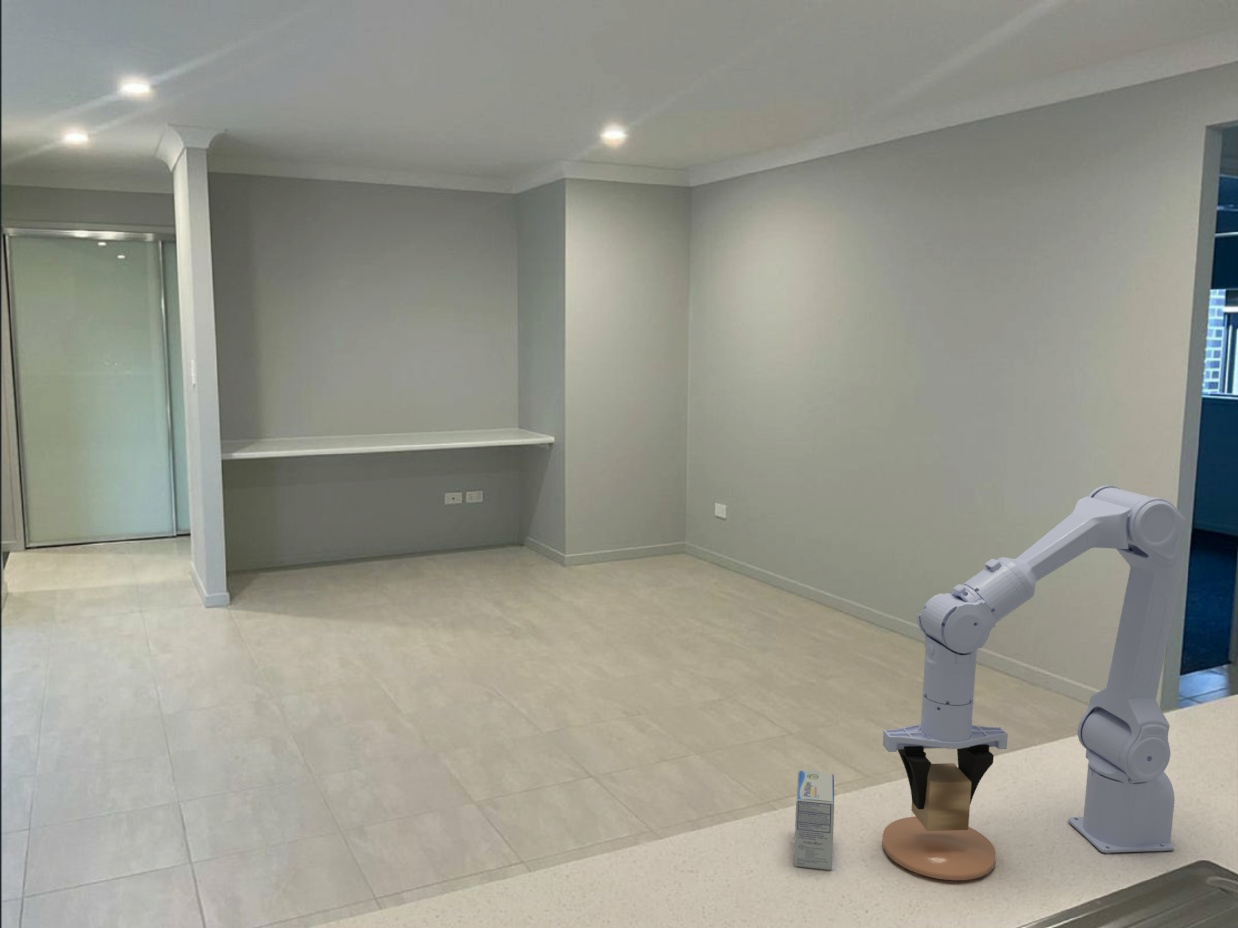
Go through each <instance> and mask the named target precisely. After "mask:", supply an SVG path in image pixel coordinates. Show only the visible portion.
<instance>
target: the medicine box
mask: <svg viewBox="0 0 1238 928" xmlns="http://www.w3.org/2000/svg"><path fill="white" fill-rule="evenodd" d="M834 778H835V776H834V773H830V772H824V771H814V770H798V775H797V788H796V800H795V801H796V803H795V821H794V822H795V823H794V826H795V827H794V828H795V829H794V832H795V833H794V866H795V867H799V868H808V869H815V870H816V869H817V870H824V871H825V870H826V871H831V870H833V852H834V851H833V848H834V821H835V781H834V780H835V779H834Z"/></svg>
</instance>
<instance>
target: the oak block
mask: <svg viewBox="0 0 1238 928" xmlns="http://www.w3.org/2000/svg"><path fill="white" fill-rule="evenodd" d="M970 796H971V781H970V780H969V779H968V778H967V777H966V776H965V775H964V774H963V772H962V771H961V770H960V769H959V768H958V765H956V763H953V762H951V763H950V762H949V763H948V762H947V763H931V766H930V769H929V773H928V777H927V783H926V798H925V806H924V809H917V807H916V806H915V805H914V804H913V802H912V801H911V808H910V809H911V812H912V813H913V814H914V817H917V818H918V820H919V821H920V822H921V824H922V825H923V826H924V828H925V829H926V830H927V831H949V830H968V827H970V825H969V824H970V809H971V804H970Z"/></svg>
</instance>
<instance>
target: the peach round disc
mask: <svg viewBox="0 0 1238 928" xmlns="http://www.w3.org/2000/svg"><path fill="white" fill-rule="evenodd" d="M881 843H882V847H883V850H884V851H885V853H886V854H887V856H888V857H889V858H890V859H891V860H893V861H894V862H895V863H896V864H898V865H900V866H901V867H903V868H905V869H906V870H909V871H911V872H914V873H916V874H918V875H922V876H925V877H929V878H933V879H937V880H938V879H939V880H945V881H969V880H974V879H978V878H982V877H983V876H986V875H987V874H989V873H990V872H991V871H992V870H993V868H994V867H995V865H996V856H997V855H996V854H997V852H996V848H995V847H994V845H993V844H992V842H991V841H990V840H989V839H988V838H987V837H986V836H985V835H984V834H982V833H981V832H980V831H978V830H975V828H972V827H970V826H968V830H949V831H927V830H926V829H925V828H924V826H923V825H922V824H921V822H920V821H919V820H918V818H917V817H916V816H909V817H908V816H907V817H903V818H899V819H896V820H894V821H892V822H891V823H889V824H888V825H886V827H885V828H884V829H883V833H882V841H881Z"/></svg>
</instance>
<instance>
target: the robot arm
mask: <svg viewBox="0 0 1238 928" xmlns="http://www.w3.org/2000/svg"><path fill="white" fill-rule="evenodd" d="M1186 521H1187V519H1186V518H1185V516H1184V515H1183V514H1182V513H1181V512H1180V511H1179V510H1178V508H1177V507H1176V506H1175V505H1174V504H1173V503H1172V502H1171V501H1169V500H1168V499H1166V498H1163V497H1159V496H1158V497H1157V496H1156V497H1155V496H1150V495H1149V496H1148V495H1144V494H1141V493H1137V492H1133V491H1129V490H1125V489H1121V488H1119V487H1117V486H1114V485H1110V484H1109V485H1101V486H1099V487H1097V488H1095V489H1093V490H1092V491H1090V493H1089V494H1088V495H1086V496H1084V497H1082V498H1080V499H1078V500H1077V501H1076V504H1075V506H1074V509H1073V511H1072V512H1071V513H1070V514H1069V515H1068V516H1067V517H1065V518H1064V519H1063V520H1062V521H1061V522H1059V523H1058V524H1057V525H1056V526H1055V527H1053V528H1052V529H1050V531H1048V532H1047V533H1046V534H1044V535H1043V536H1042V537H1041V538H1040V539H1038V540H1037V541H1036V542H1034V543H1033V544H1032V545H1031V546H1030V547H1028V548H1027V549H1026V550H1025V551H1024V552H1022V553H1021V554H1020V555H1019V556H1018V557H1016V558H1010V557H1006V556H1005V557H1004V556H1002V557H998V559H994V558H991V559H989V560H988V561H986V562H985V563H984V566H985V568H983V569H981V570H980V571H979V572H978V573H976V574H975V575H973V576H971V578H969V579H968V580H966V581H965V582H964V583H962V584H960V583H958V584H957V585H955V586H954V587H953V588H952V591H951V593H949V592H945V593H942V592H941V593H938V594H936V595H934V596H932V597H931V598H930V599H929V600H927V601H926V602H925V604H924V606H922V607H923V608H922V610H921V613H920V614H917V616H916V620H917V625H918V628H919V629H920V631H921V632H922V634H923V636H924V647H925V649H924V650H925V651H924V652H925V653H924V654H925V655H924V667H923V683H922V684H923V685H922V700H921V701H922V702H921V717H920V724H914V725H909V726H904V727H900V728H899V727H898V728H895V729H884V730H883V735H882V746H883V747H884V749H885V750H886V751H887V752H889V753H891V752H892V753H897V752H898V754H899V757H900V759H901V761H902V764H903V766H904V769H905V773H906V775H907V776H906V777H907V779H908V783H909V788H910V794H911V795H910V796H911V803H912V802H913V804H914V805H915V806H916V807H917V809H924V806H925V798H926V783H927V777H928V773H929V769H930V766H931V764H932V762H931V761H930V760H929V759H928V757H927V753H926V751H925V749H927V750H928V749H929V750H930V749H949V750H956V752H957V767H958V768H959V769H960V770H961V771H962V772H963V774H964V775H965V776H966V777H967V778H968V779H969V780H970V781H971V796H970V805H972V804H971V803H972V801H973V798H974V795H975V792H976V791H977V788H978V786H979V783H980V782H981V780H982V779H983V777H984V776H985V774H986V773H987V771H988V770H989V769H990V767H991V766H992V765H993V763H994V757H995V756H994V754H993V753H992V752H991V751H990V748H996V749H997V750H1007V749H1008V736H1009V734H1008V733H1007V732H1006V731H1005V730H1004V729H1003V728H1002V727H1000V726H999V727H997V726H996V727H995V726H994V727H992V726H983V725H982V726H981V725H972V724H973V713H974V711H973V709H974V696H975V695H974V694H975V683H976V682H975V681H976V671H977V670H976V669H977V653H978V649H982V648H983V647H984V645H985V644H986V643H987V641H988V639H989V637H990V634H991V631H992V630H993V629H994V628H995V627H996V625H997V624H998V622H1000V621H1001V620H1002V619H1004V618H1005V617H1007V616H1009V615H1010V614H1011V613H1013V611H1016V609H1019V607H1021V606H1022V605H1024V604H1025V603H1026V602H1028V601H1029V600H1031V599H1032V598H1033V597H1034V595H1035V591H1036V585H1037V584H1036V583H1037V582H1038V581H1040V580H1042V579H1043V578H1045V577H1047V576H1048V575H1051V573H1053V572H1054V571H1056V570H1058V569H1059V568H1061V567H1063V566H1065V565H1066V564H1068V563H1069V562H1071V561H1073V560H1074V559H1076V558H1077V557H1079V556H1080V555H1082V554H1084V553H1086V552H1087V551H1089V550H1091V549H1093V548H1094V549H1095V548H1100V549H1116V551H1117V552H1118V553H1119V554H1120V555H1121V557H1122V558H1123V559H1124V560H1125V561H1126V562H1127V564H1128V565H1129V572H1128V573H1129V574H1128V578H1127V579H1128V580H1127V583H1126V588H1125V593H1124V597H1123V603H1122V604H1123V605H1122V609H1121V615H1120V619H1119V624H1118V627H1117V628H1118V629H1117V634H1116V639H1115V642H1114V643H1115V644H1114V648H1113V653H1112V658H1111V663H1110V669H1109V672H1108V673H1109V674H1108V678H1107V682H1106V683H1107V684H1106V687H1105V688H1104V689H1102V690H1099V691H1097V692H1095V693H1094V694H1092V695H1091V696H1089V697H1090V699H1089V703H1088V706H1087V709H1086V711H1084V714H1082V716H1081V718H1080V720H1079V721H1078V725H1077V733H1076V734H1077V737H1078V740H1079V743H1080V745H1081V746H1082V747H1084V749H1086V750H1085V758H1086V759H1087V761H1088V764H1087V775H1086V785H1085V797H1084V807H1083V808H1084V809H1083V816H1075V817H1074V816H1071V817H1068V819H1067V821H1068V823H1069V824H1070V825H1072V827H1074V828H1075V829H1076V831H1078V832H1079V833H1080V834H1081V835H1082V836H1084V837H1085V839H1087V840H1088V842H1090V843H1091V844H1092V845H1093V846H1094V847H1095V848H1096V849H1097V850H1098V851H1100V852H1101V853H1104V854H1108V853H1109V854H1110V853H1133V852H1138V853H1139V852H1160V851H1161V852H1162V851H1174V850H1175V846H1174V844H1173V843H1171V837H1172V829H1173V819H1174V811H1175V810H1174V808H1175V792H1174V786H1173V784H1172V781H1171V780H1170V778H1169V776H1168V775H1167V774H1166V772H1165V770H1166V769H1167V767H1168V765H1169V762H1170V758H1171V747H1170V743H1169V732H1170V731H1169V730H1170V727H1171V726H1170V724H1169V721H1168V719H1167V718H1166V716H1165V714H1164V713H1163V711H1162V709H1161V707H1160V706H1159V704H1158V702H1157V696H1158V690H1159V686H1160V682H1161V676H1162V672H1163V666H1164V662H1165V658H1166V652H1167V649H1168V648H1167V647H1168V642H1169V638H1170V632H1171V629H1172V622H1173V618H1174V613H1175V608H1176V603H1177V599H1178V598H1177V597H1178V595H1179V594H1178V593H1179V591H1180V589H1179V588H1180V584H1181V580H1182V574H1183V570H1184V566H1185V555H1184V549H1183V543H1182V541H1183V534H1184V531H1185V525H1186Z"/></svg>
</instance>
